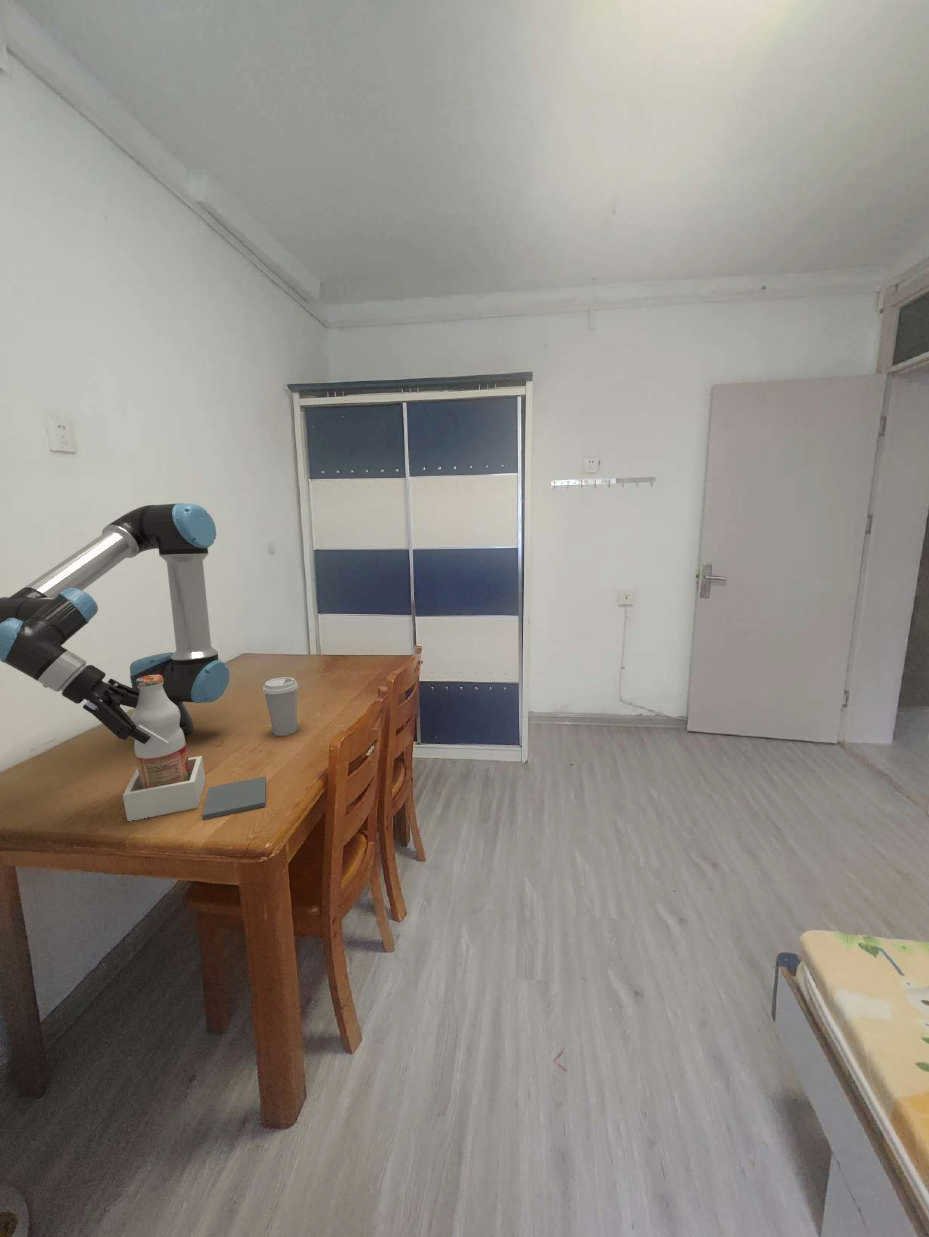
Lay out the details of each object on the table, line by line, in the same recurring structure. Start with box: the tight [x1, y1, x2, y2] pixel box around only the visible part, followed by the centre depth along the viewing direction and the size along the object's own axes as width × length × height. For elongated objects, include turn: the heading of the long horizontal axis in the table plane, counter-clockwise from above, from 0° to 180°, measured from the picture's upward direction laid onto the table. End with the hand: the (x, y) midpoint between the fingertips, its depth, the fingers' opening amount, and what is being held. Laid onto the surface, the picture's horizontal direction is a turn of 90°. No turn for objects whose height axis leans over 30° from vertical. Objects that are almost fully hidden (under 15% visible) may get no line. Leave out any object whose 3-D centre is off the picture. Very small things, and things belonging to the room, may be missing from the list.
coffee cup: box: [262, 676, 299, 737], centre depth 146 cm, size 10×10×15 cm
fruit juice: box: [130, 675, 191, 789], centre depth 110 cm, size 9×9×28 cm
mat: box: [201, 775, 267, 821], centre depth 112 cm, size 12×12×1 cm
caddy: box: [122, 755, 206, 822], centre depth 113 cm, size 13×13×6 cm
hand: (170, 735), depth 111 cm, fingers open, 13 cm apart
